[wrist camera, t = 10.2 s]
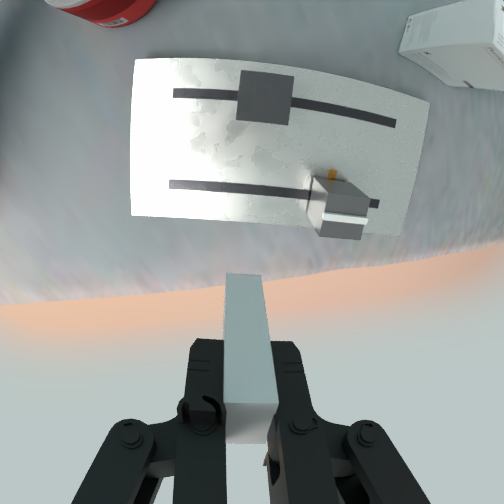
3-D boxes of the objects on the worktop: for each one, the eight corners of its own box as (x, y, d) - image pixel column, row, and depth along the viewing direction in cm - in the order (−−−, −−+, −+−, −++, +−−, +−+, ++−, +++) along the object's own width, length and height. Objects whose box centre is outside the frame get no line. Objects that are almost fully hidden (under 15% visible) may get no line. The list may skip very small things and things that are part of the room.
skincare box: (395, 53, 25) (487, 43, 12) (407, 13, 22) (494, -11, 9) (449, 88, 26) (542, 102, 13) (459, 49, 24) (549, 51, 11)
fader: (306, 215, 31) (319, 238, 26) (313, 177, 29) (328, 194, 24) (343, 219, 31) (362, 242, 26) (351, 182, 29) (373, 200, 24)
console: (138, 206, 32) (114, 236, 25) (142, 62, 25) (115, 53, 18) (390, 227, 35) (421, 258, 28) (418, 101, 28) (459, 107, 21)
